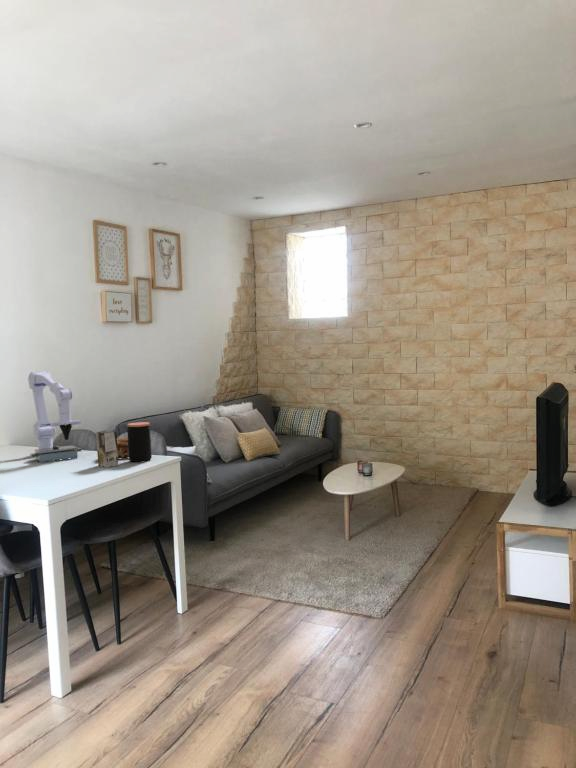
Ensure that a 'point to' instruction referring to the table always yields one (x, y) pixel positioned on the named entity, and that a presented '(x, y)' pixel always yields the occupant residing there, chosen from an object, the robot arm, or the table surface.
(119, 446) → the bread
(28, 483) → the table surface
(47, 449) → the cabinet door
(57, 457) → the grey slotted box
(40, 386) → the robot arm
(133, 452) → the coffee jar
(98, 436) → the coffee box
